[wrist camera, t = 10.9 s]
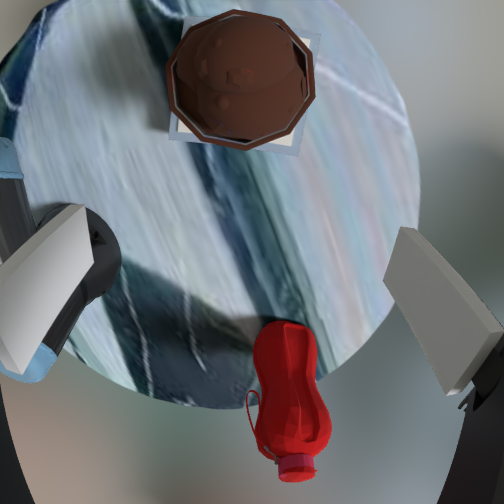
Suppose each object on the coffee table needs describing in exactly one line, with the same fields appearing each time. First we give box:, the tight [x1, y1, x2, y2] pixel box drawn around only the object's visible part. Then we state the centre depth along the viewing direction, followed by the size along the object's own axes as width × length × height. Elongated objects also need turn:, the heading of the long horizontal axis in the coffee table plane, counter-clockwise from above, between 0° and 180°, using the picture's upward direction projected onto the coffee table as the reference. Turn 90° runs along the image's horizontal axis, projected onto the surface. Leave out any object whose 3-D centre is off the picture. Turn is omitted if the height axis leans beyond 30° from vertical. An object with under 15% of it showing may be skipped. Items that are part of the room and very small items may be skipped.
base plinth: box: [168, 17, 321, 156], centre depth 29 cm, size 14×14×4 cm
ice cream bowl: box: [165, 9, 315, 151], centre depth 21 cm, size 11×11×15 cm
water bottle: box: [246, 321, 332, 482], centre depth 39 cm, size 9×11×25 cm
